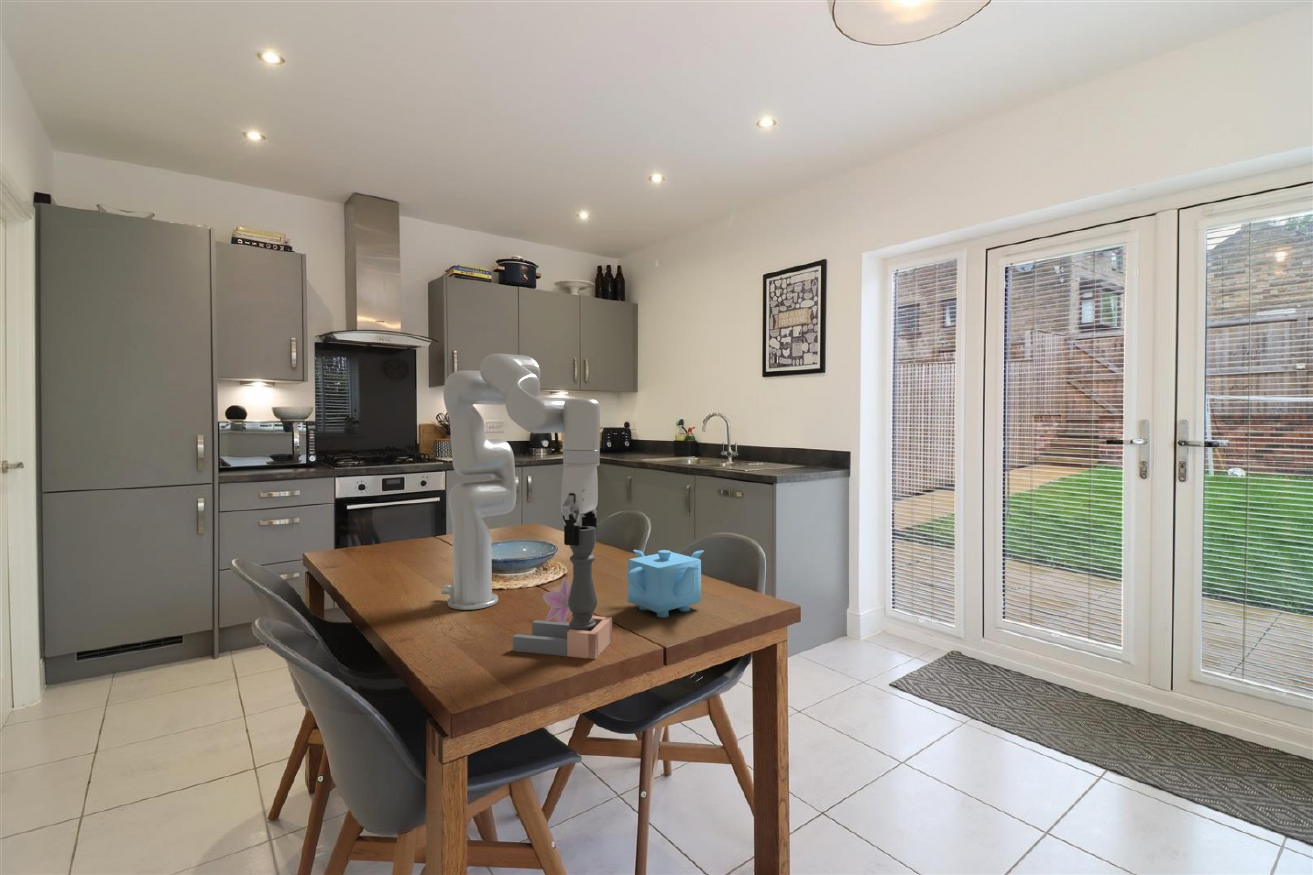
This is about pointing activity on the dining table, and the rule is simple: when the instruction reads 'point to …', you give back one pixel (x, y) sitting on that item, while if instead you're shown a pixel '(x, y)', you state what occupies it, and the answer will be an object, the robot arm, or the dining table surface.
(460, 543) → the robot arm
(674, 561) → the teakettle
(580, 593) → the candle holder
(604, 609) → the dining table surface
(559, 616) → the lily
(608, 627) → the guide channel
